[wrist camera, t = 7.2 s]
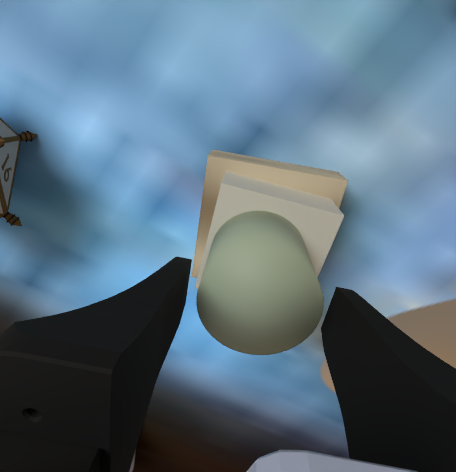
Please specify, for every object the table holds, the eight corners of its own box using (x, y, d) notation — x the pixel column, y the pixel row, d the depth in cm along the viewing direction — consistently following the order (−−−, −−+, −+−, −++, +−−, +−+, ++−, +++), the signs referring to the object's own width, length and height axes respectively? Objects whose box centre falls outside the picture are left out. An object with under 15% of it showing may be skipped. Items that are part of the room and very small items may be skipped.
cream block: (295, 288, 18) (301, 315, 16) (202, 263, 18) (195, 287, 16) (331, 198, 16) (344, 215, 14) (225, 170, 16) (221, 182, 14)
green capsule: (295, 301, 16) (309, 362, 12) (207, 289, 16) (193, 346, 12) (314, 216, 14) (336, 257, 10) (214, 204, 14) (200, 240, 10)
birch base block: (303, 275, 21) (310, 297, 18) (198, 256, 21) (191, 276, 18) (335, 169, 18) (348, 180, 16) (213, 148, 18) (208, 155, 16)
